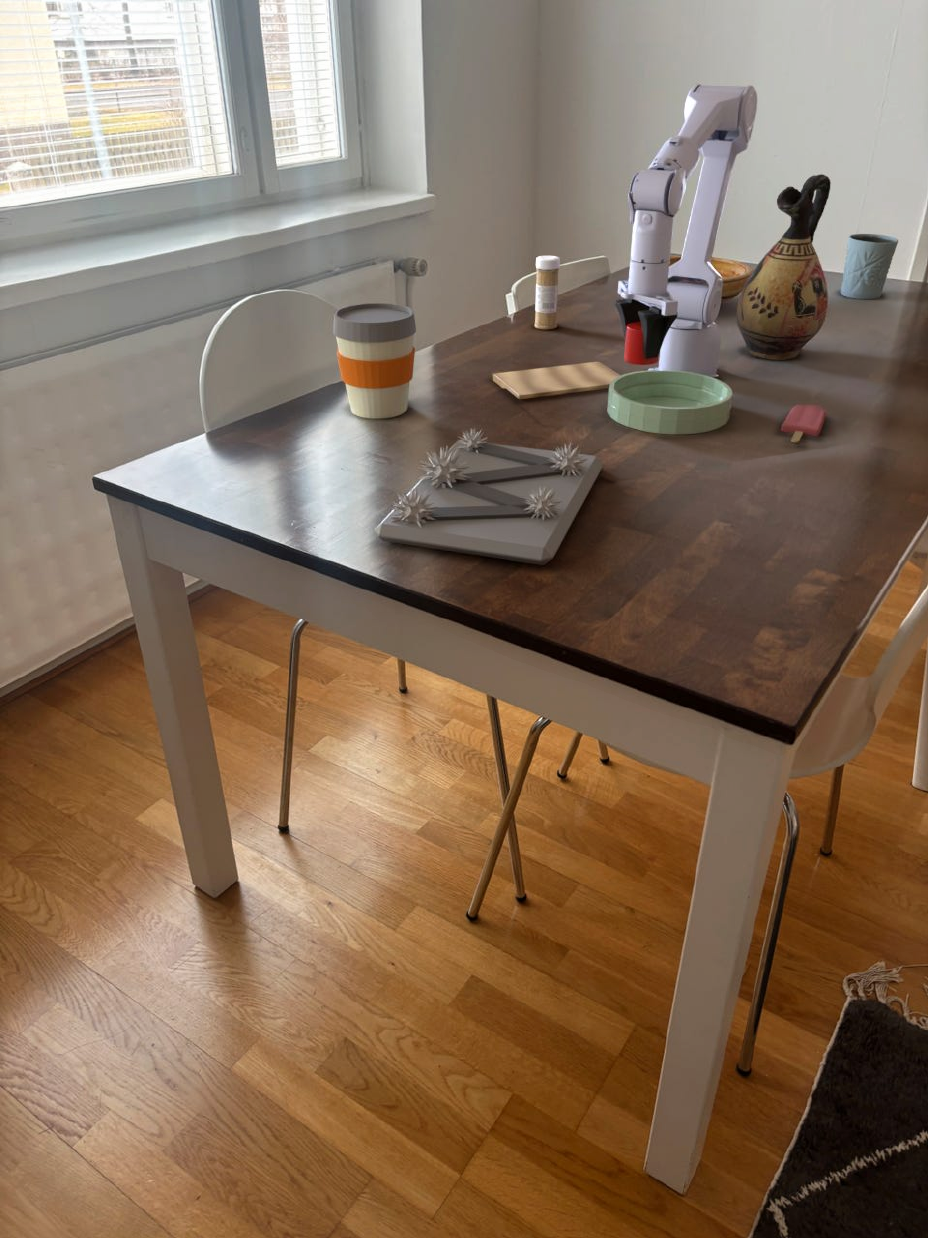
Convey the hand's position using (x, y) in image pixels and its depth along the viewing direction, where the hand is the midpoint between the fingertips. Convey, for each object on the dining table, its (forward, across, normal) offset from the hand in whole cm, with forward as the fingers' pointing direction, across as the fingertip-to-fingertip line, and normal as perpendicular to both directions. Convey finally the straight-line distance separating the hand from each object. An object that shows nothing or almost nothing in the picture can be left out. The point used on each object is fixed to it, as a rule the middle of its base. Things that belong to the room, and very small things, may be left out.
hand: (641, 352), depth 147 cm
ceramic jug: (+9, -17, +38) cm, 43 cm away
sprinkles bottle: (+9, -48, +6) cm, 50 cm away
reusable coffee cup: (+9, -14, -38) cm, 42 cm away
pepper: (+1, 0, 0) cm, 1 cm away
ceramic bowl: (+9, -53, +42) cm, 68 cm away
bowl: (+9, +6, +2) cm, 11 cm away
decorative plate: (+9, +26, -34) cm, 44 cm away
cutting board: (+9, -15, -6) cm, 18 cm away
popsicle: (+9, +18, +18) cm, 27 cm away
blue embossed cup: (+9, -48, +83) cm, 96 cm away
